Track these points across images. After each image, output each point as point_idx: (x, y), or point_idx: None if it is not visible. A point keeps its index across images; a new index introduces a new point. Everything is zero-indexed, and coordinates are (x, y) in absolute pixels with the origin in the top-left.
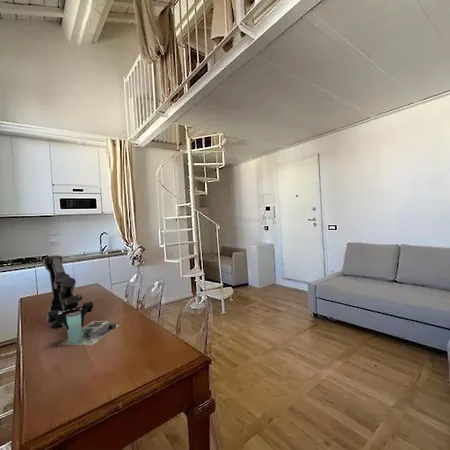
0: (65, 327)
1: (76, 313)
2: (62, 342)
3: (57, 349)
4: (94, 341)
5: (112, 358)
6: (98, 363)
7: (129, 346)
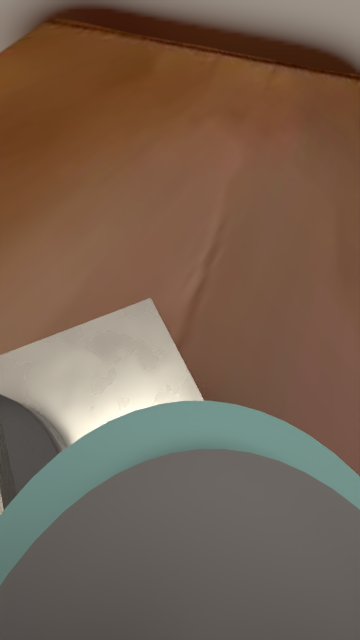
0: None
1: (185, 455)
2: None
3: None
4: (112, 332)
5: (170, 161)
6: (220, 173)
7: (65, 172)
